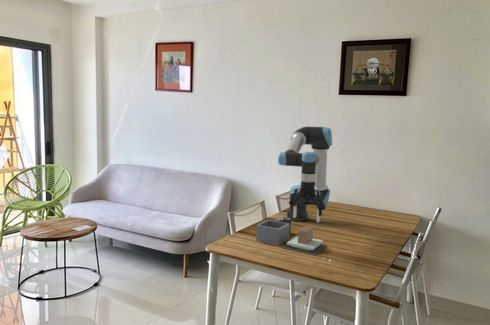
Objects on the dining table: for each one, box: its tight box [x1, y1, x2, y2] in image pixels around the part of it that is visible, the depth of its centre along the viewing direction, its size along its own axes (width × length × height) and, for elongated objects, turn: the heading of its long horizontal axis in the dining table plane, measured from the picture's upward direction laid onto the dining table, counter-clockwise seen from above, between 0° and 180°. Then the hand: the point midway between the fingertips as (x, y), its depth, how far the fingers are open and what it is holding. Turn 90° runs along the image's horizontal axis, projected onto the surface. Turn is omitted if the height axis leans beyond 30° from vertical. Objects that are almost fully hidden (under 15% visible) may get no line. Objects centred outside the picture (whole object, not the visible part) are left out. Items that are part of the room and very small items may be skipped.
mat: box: [282, 243, 327, 256], centre depth 214 cm, size 18×18×1 cm
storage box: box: [255, 219, 290, 246], centre depth 225 cm, size 14×14×9 cm
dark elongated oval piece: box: [276, 215, 292, 235], centre depth 237 cm, size 9×3×11 cm, turn 109°
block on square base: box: [286, 225, 324, 251], centre depth 214 cm, size 15×15×10 cm
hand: (306, 219), depth 213 cm, fingers open, 13 cm apart
